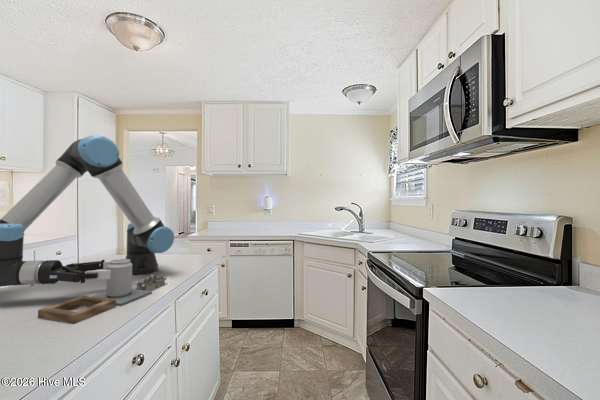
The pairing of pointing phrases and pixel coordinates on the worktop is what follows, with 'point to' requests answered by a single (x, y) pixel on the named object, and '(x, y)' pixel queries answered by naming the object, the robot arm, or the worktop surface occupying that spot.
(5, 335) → the worktop surface
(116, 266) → the can
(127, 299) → the mat
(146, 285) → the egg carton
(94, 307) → the frame
